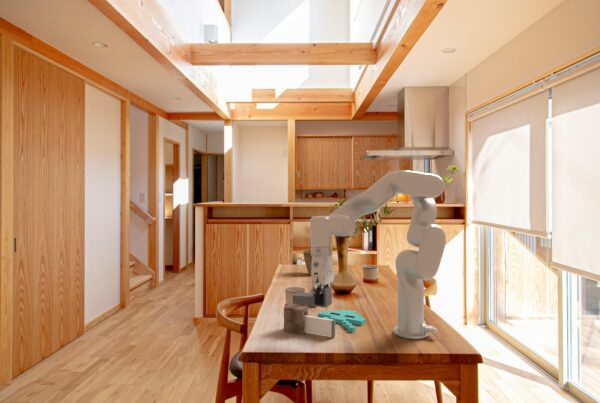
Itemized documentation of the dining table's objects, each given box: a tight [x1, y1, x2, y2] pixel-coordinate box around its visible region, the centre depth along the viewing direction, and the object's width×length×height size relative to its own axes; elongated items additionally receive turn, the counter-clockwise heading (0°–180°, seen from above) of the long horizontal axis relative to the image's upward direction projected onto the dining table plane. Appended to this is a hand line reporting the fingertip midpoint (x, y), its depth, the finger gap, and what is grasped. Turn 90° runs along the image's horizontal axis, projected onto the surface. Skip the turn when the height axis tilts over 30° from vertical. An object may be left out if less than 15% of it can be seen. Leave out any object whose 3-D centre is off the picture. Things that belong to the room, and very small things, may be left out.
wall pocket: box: [283, 303, 309, 335], centre depth 146 cm, size 8×5×9 cm, turn 64°
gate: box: [304, 315, 336, 338], centre depth 142 cm, size 13×2×6 cm, turn 64°
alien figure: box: [317, 309, 367, 333], centre depth 158 cm, size 20×2×20 cm
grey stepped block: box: [292, 286, 333, 309], centre depth 135 cm, size 13×5×6 cm, turn 63°
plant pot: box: [302, 249, 312, 276], centre depth 251 cm, size 15×15×16 cm
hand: (322, 302), depth 133 cm, fingers closed on grey stepped block, 5 cm apart
